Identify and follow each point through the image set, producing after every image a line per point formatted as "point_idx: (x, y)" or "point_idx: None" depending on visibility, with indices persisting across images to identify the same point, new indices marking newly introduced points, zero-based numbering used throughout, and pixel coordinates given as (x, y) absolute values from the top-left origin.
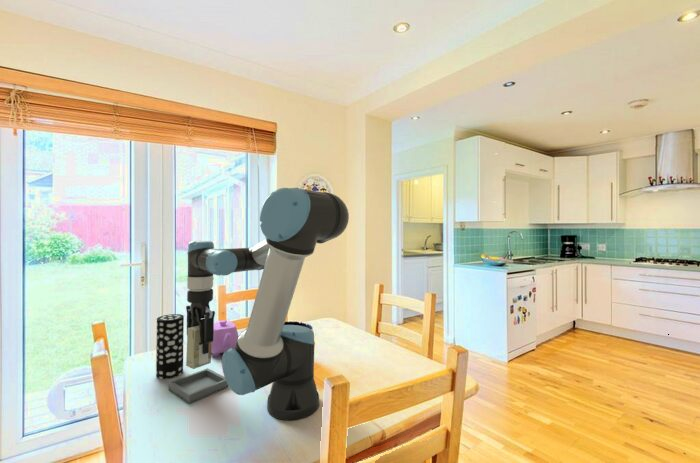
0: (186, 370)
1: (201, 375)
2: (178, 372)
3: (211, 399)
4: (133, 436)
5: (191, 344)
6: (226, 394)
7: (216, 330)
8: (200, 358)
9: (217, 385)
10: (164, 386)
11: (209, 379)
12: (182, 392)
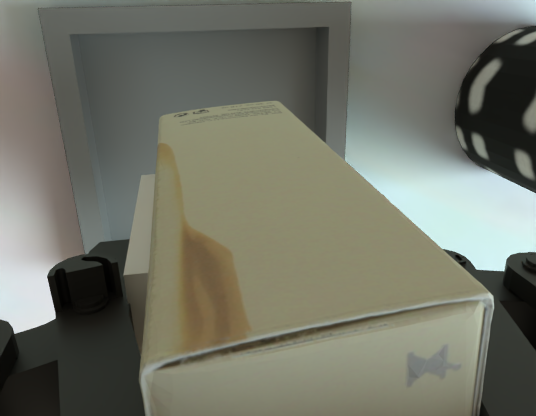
0: (476, 185)
1: None
2: (466, 130)
3: (14, 133)
4: None
5: (228, 184)
6: (15, 220)
7: None
8: (138, 199)
9: (79, 212)
10: (398, 6)
11: None
12: (146, 6)
